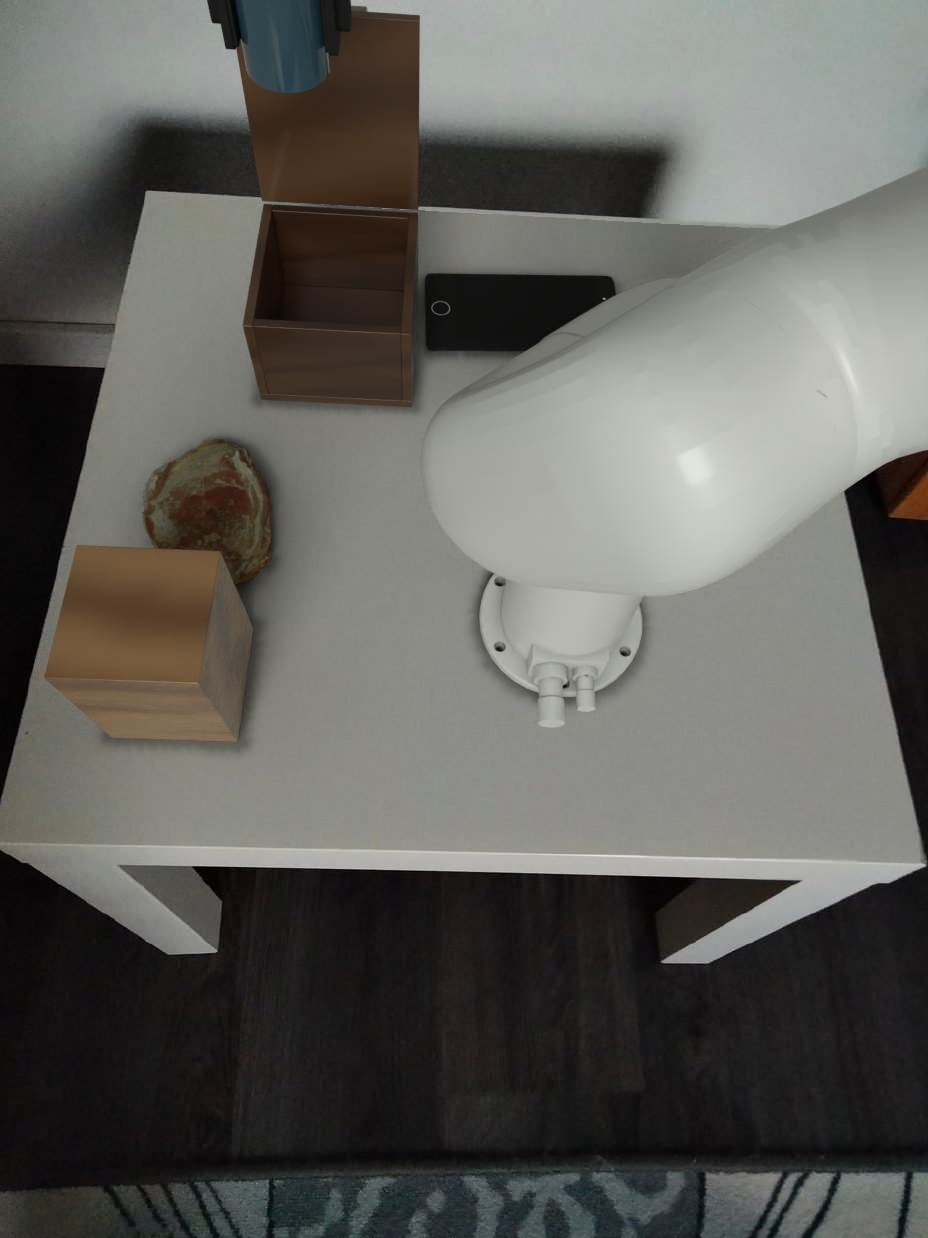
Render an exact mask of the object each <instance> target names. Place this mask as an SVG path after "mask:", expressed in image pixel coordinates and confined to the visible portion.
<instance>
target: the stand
mask: <svg viewBox="0 0 928 1238" xmlns="http://www.w3.org/2000/svg"><path fill="white" fill-rule="evenodd" d="M71 563H72V564H71V567H70V571H69V575H68V578H67V582H66V587H65V590H64V591H65V592H64V595H63V599H62V604H61V607H60V611H59V616H58V619H57V624H56V627H55V632H54V635H53V639H52V644H51V648H50V652H49V655H48V660H47V664H46V669H45V672H44V680H46V681H47V682H48V683H49V684H50V685H51V686H52V687H53V688H54V689H56V690H57V691H58V692H59V693H60V694H61V695H62V696H64V697H65V698H66V699H67V700H68V701H69V702H70V703H72V704H73V706H75V707H76V708H78V710H80V712H82V713H83V714H84V715H85V716H86V717H87V718H88V719H90V721H92V722H93V723H94V724H95V725H96V726H97V727H98V728H100V729H101V730H102V731H103V732H105V733H106V734H107V735H108V736H109V737H110V738H114V739H115V738H116V739H142V740H143V739H145V740H168V741H169V740H173V741H201V742H202V741H203V742H205V741H206V742H228V743H229V742H231V743H232V742H235V743H238V742H239V736H240V729H241V722H242V714H243V708H244V707H243V706H244V701H245V700H244V699H245V692H246V685H247V677H248V670H249V663H250V656H251V651H252V641H253V634H254V627H253V624H252V622H251V619H250V618H249V617H250V616H249V615H248V613H247V610H246V608H245V606H244V603H243V601H242V599H241V596H240V594H239V592H238V589H237V587H236V585H234V582H233V580H232V578H231V575H230V573H229V571H228V568H227V566H226V564H225V561H224V559H223V557H222V554H221V552H220V551H207V550H183V549H159V548H155V547H154V548H153V547H135V546H134V547H133V546H109V545H88V544H87V545H85V544H77V545H76V546H75V550H74V553H73V558H72V562H71Z"/></svg>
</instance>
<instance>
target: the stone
mask: <svg viewBox="0 0 928 1238" xmlns="http://www.w3.org/2000/svg"><path fill="white" fill-rule="evenodd" d="M142 493H143V495H142V498H143V511H142V512H141V514H142V521H143V526H144V530H145V532H146V534H147V537H148V539H149V541H150V542H151V544H152V545H153V547H154V548H159V549H183V550H207V551H220V552H221V554H222V557H223V559H224V561H225V564H226V566H227V568H228V571H229V573H230V575H231V578H232V580H233V582H234V585H235V586H236V585H238V584H241V583H244V582H245V583H246V582H248V581H250V580H253V579H255V578H256V577H257V576H258V574H259V573H260V572H261V571H264V570H265V569H266V568H268V564H269V563H270V561H271V560H272V556H273V552H274V539H273V535H272V521H273V501H272V493H271V488H270V486H269V484H268V482H267V480H266V479H265V477H264V475H263V474H262V473H261V471H260V470H259V469H258V468H257V466H256V465H255V464H254V462H253V458H252V456H251V453H250V452H249V450H248V448H247V447H240V446H239V445H238V444H233V443H231V442H230V441H228V440H225V439H222V438H214V439H207V440H203V441H201V442H199V443H198V444H197V447H193V448H191V449H189V450H187V451H186V452H185V453H184V454H183V455H182V456H180V457H179V459H178V460H173V459H172V461H168V462H165V463H163V464H162V465H161V466H160V467H158V468H155V469H154V470H153V471H151V474H150V477H149V478H148V480H147V482H146V483H145V485H144V489H143V492H142Z"/></svg>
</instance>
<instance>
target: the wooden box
mask: <svg viewBox="0 0 928 1238" xmlns="http://www.w3.org/2000/svg"><path fill="white" fill-rule="evenodd" d="M419 215H420V214H419V212H418V211H417V212H416V211H395V210H378V209H364V208H363V209H362V208H347V207H345V208H344V207H330V206H329V207H328V206H327V207H326V206H311V205H294V204H291V205H290V204H280V203H279V204H276V203H273V204H272V203H263V204H262V210H261V216H260V223H259V228H258V234H257V239H256V246H255V251H254V256H253V261H252V269H251V274H250V280H249V286H248V292H247V297H246V304H245V309H244V315H243V321H242V328H243V332H244V333H243V334H244V336H245V341H246V345H247V349H248V352H249V356H250V360H251V364H252V368H253V372H254V376H255V380H256V385H257V388H258V392H259V396H260V400H261V401H276V402H277V401H280V402H298V403H299V402H300V403H318V404H319V403H321V404H322V403H323V404H338V405H339V404H341V405H358V406H359V405H361V406H379V407H381V406H382V407H400V408H401V407H404V408H412V407H413V392H414V391H413V390H414V372H415V358H416V357H415V356H416V339H417V323H418V322H417V321H418V306H419V304H418V303H419V223H420V222H419Z"/></svg>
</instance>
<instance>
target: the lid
mask: <svg viewBox="0 0 928 1238" xmlns="http://www.w3.org/2000/svg"><path fill="white" fill-rule="evenodd" d="M351 14H352V22H351V32H341V37H340V46H339V54H338V56H330V62H331V69H330V73H329V75H328V77H327V78H326V80H325V81H324V82H323V83H321V84H320V85H318V86H317V87H315V88H313V89H311V90H308V91H304V92H299V93H278V92H273V91H269V90H267V89H264V88H262V87H260V86H259V85H257V84H256V83H255V82H253V81H252V79H251V78H250V77H249V75H248V73H247V70H246V64H245V59H244V53H243V48H242V42H241V39H240V44H239V47H236V50H235V51H236V56H237V61H238V68H239V73H240V80H241V85H242V92H243V97H244V104H245V109H246V114H247V115H246V117H247V121H248V128H249V132H250V139H251V144H252V150H253V151H252V152H253V156H254V162H255V168H256V174H257V180H258V186H259V193H260V198H261V201H262V202H268V203H271V202H272V203H287V204H305V205H320V206H322V205H323V206H337V207H339V206H340V207H356V208H357V207H358V208H371V209H389V210H407V211H419V206H420V90H421V89H420V86H421V85H420V77H421V76H420V75H421V73H420V71H421V65H420V64H421V15H420V14H407V13H395V12H394V13H392V12H378V11H369V10H368V7H367V6H365V5H352V4H351Z"/></svg>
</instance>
